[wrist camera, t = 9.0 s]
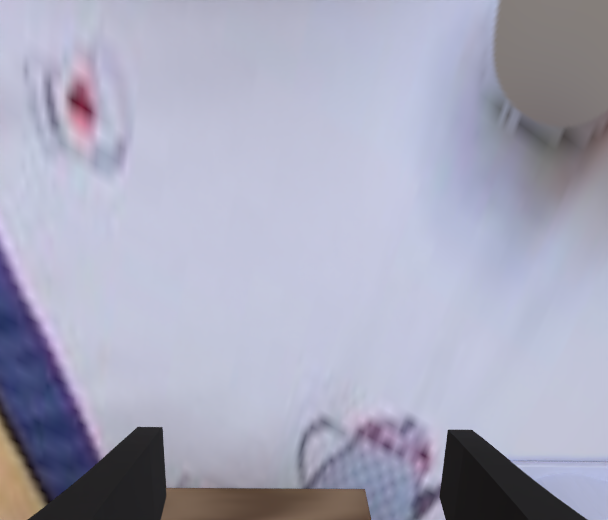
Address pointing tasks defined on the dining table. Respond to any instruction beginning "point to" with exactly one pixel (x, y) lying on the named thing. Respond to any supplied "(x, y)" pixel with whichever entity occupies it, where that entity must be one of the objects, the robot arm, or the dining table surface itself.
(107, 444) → the dining table surface
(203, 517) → the walnut slot holder
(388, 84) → the dining table surface
